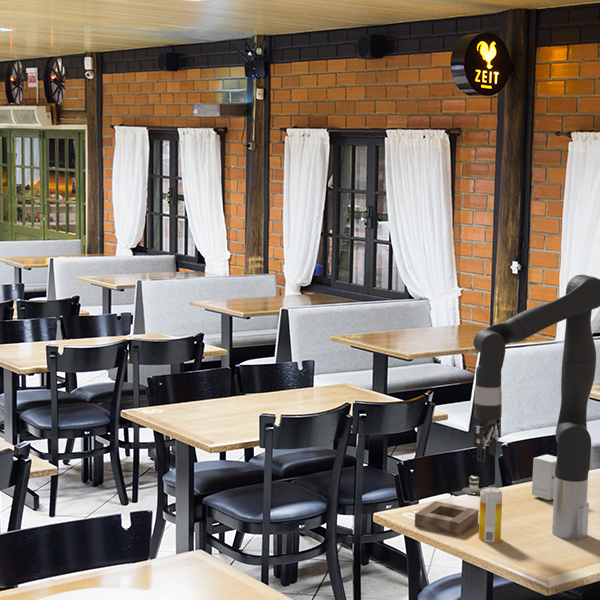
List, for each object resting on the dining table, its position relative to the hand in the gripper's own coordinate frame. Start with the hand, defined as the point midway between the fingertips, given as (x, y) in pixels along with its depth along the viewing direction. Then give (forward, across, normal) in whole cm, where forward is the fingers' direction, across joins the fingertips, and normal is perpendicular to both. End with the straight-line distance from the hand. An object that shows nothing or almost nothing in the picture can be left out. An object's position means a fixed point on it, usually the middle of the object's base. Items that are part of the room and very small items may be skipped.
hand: (486, 457), depth 273 cm
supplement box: (+24, +49, -1) cm, 55 cm away
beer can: (+24, -1, -2) cm, 24 cm away
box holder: (+24, +3, +14) cm, 27 cm away
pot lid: (+24, +40, +21) cm, 51 cm away
